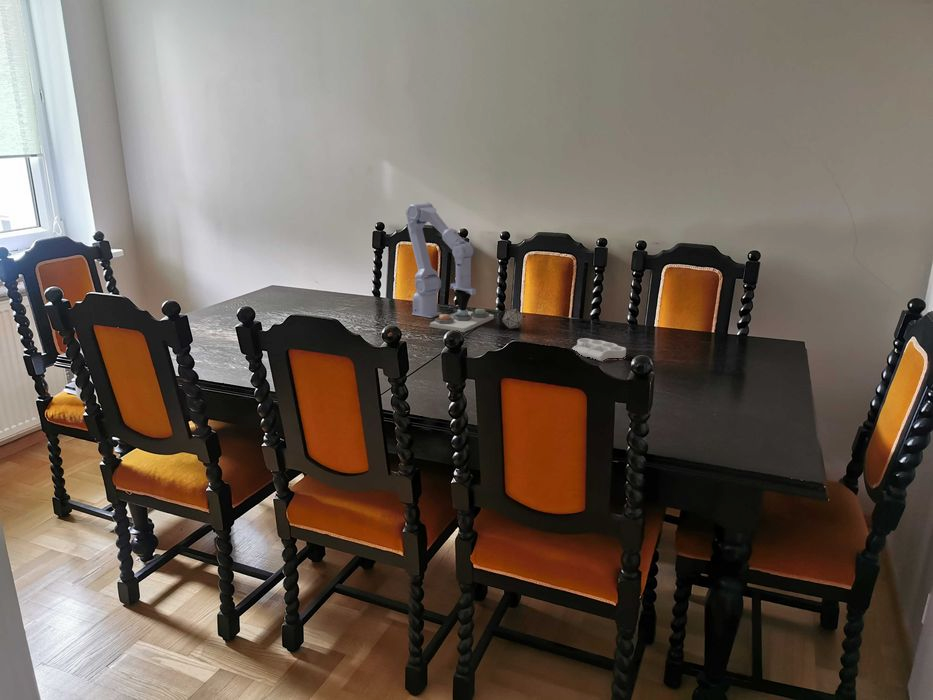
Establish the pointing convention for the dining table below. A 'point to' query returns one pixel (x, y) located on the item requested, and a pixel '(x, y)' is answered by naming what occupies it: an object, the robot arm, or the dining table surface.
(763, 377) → the dining table surface
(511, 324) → the game die
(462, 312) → the button blue
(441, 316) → the button terracotta
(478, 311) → the button green
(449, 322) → the button panel
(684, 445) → the dining table surface
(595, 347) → the grey hollowed tray
